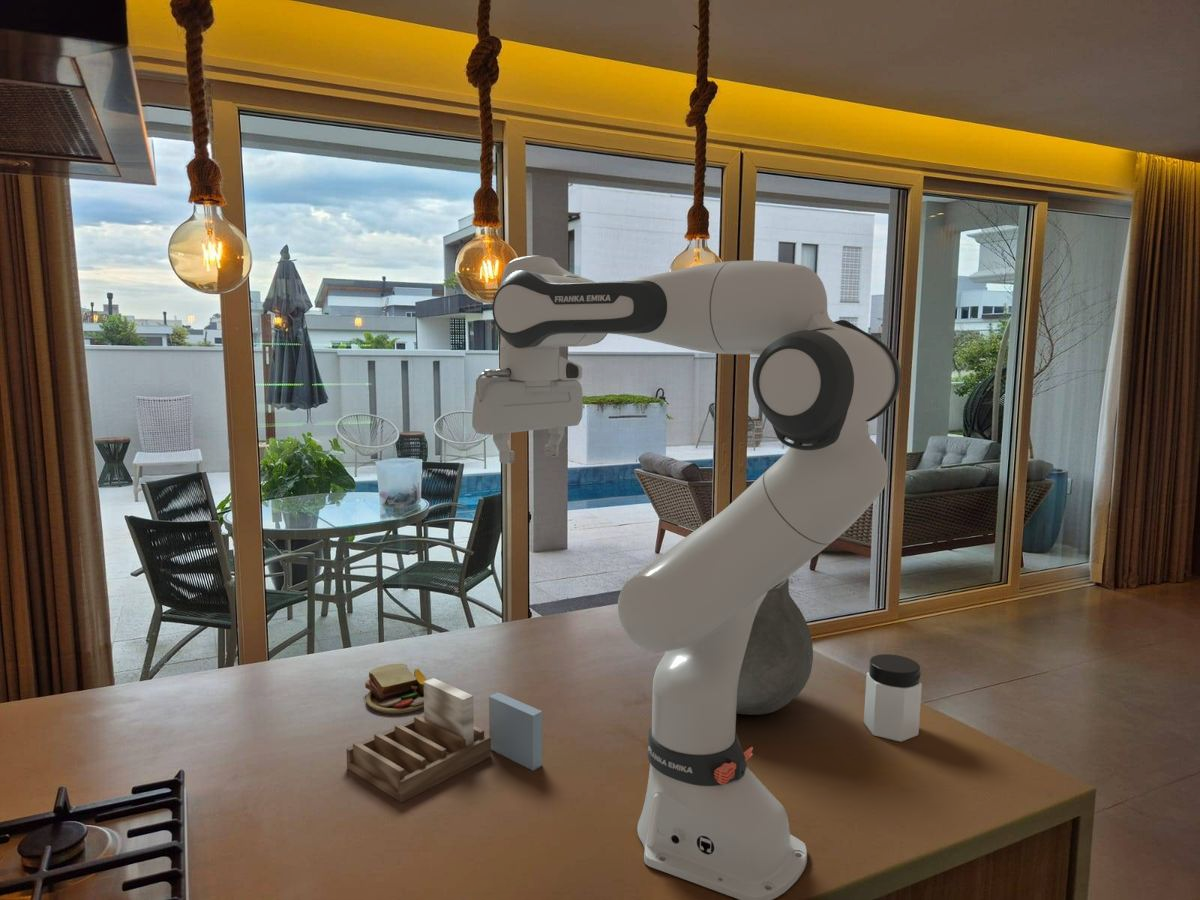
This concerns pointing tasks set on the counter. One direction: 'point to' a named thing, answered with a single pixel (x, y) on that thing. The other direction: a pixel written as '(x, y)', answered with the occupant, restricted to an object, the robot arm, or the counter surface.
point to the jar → (893, 697)
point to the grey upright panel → (515, 730)
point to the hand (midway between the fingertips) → (529, 459)
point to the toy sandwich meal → (395, 689)
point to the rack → (423, 745)
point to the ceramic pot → (775, 655)
